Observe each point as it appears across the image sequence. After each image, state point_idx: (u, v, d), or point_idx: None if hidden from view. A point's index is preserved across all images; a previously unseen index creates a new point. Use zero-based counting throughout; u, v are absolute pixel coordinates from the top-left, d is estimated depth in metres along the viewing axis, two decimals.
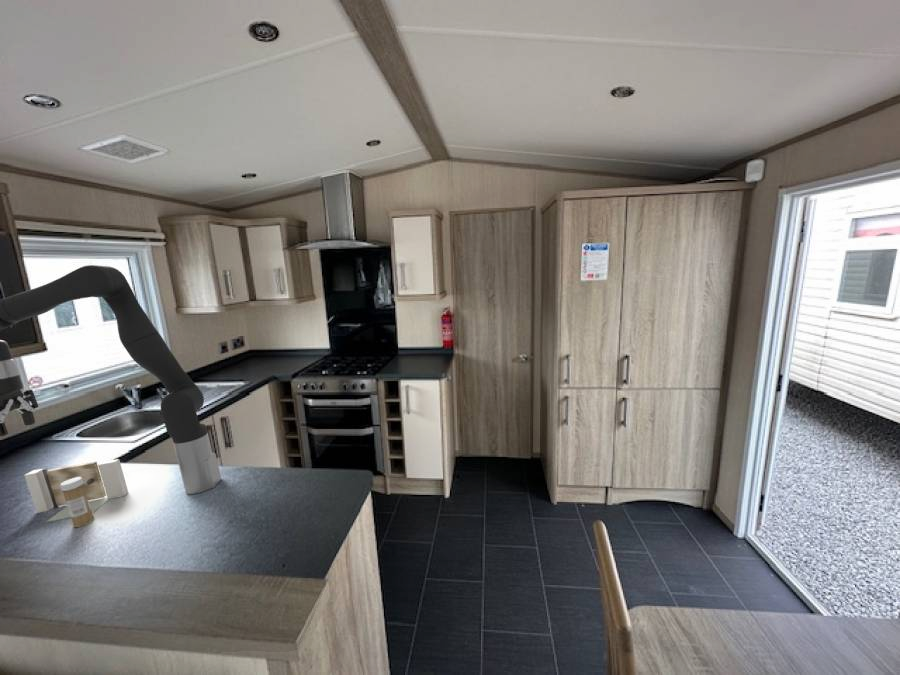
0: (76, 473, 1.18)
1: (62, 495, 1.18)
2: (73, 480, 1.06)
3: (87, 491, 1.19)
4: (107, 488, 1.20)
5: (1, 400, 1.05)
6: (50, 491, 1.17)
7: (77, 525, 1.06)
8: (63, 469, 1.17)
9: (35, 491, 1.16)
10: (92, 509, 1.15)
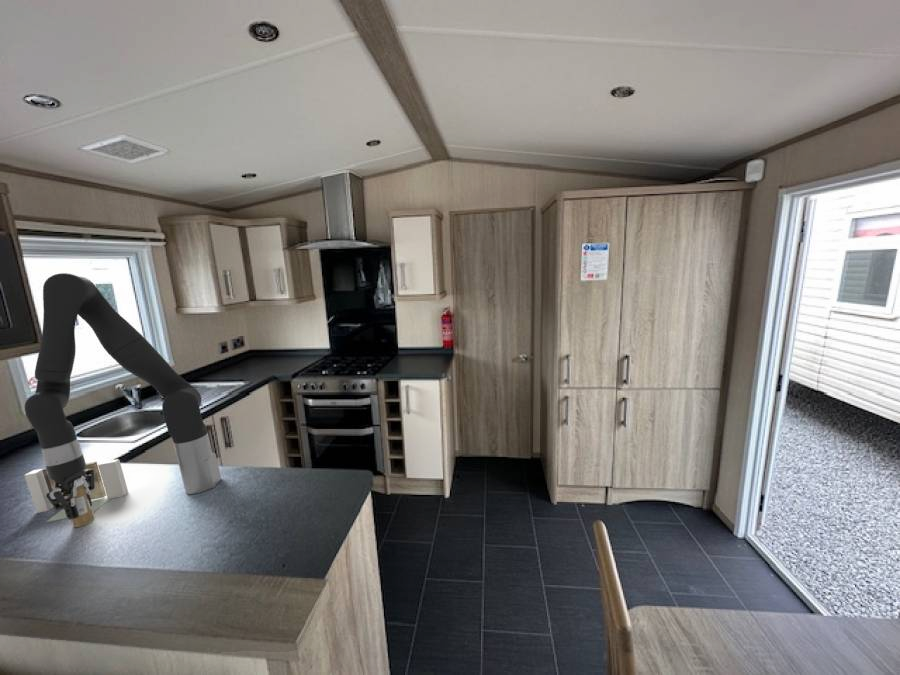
0: None
1: None
2: None
3: None
4: (107, 488, 1.20)
5: (66, 483, 1.03)
6: (50, 491, 1.17)
7: (77, 525, 1.06)
8: None
9: (35, 491, 1.16)
10: (92, 509, 1.15)
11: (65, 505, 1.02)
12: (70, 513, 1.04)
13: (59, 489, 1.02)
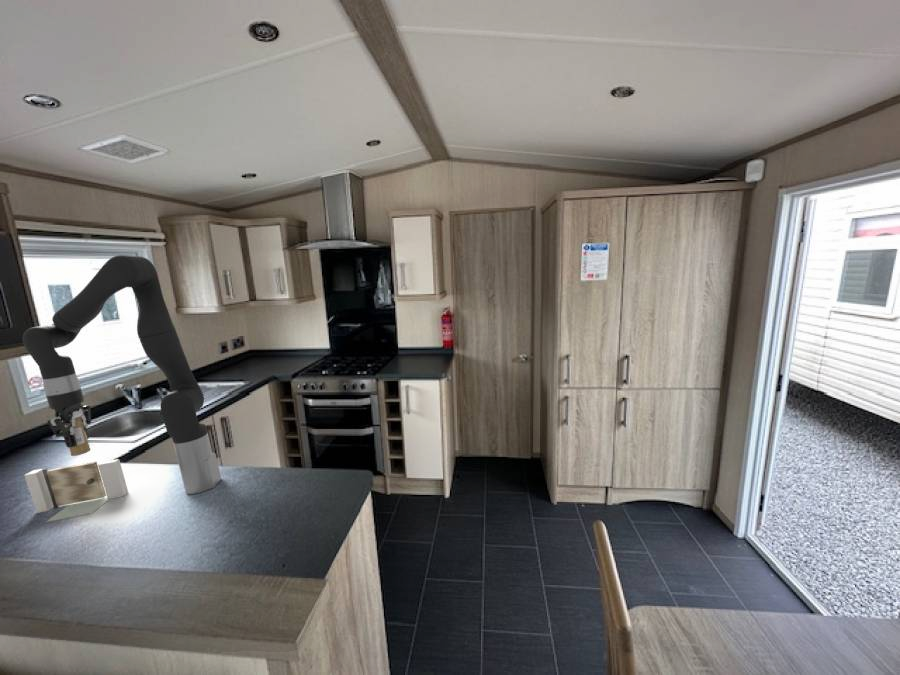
0: (76, 473, 1.18)
1: (62, 495, 1.18)
2: None
3: (87, 491, 1.19)
4: (107, 488, 1.20)
5: (66, 412, 1.11)
6: (50, 491, 1.17)
7: (75, 454, 1.14)
8: (63, 469, 1.17)
9: (35, 491, 1.16)
10: (92, 509, 1.15)
11: (65, 432, 1.10)
12: (69, 441, 1.12)
13: (59, 417, 1.09)
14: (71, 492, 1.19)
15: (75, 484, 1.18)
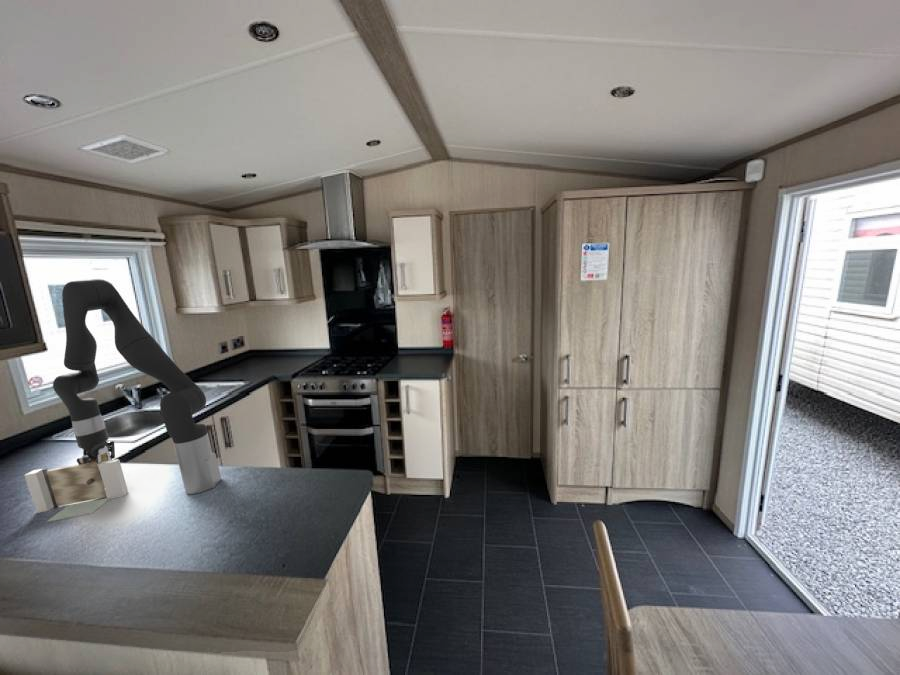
0: (76, 473, 1.18)
1: (62, 495, 1.18)
2: None
3: (87, 491, 1.19)
4: (107, 488, 1.20)
5: (92, 450, 1.22)
6: (50, 491, 1.17)
7: None
8: (63, 469, 1.17)
9: (35, 491, 1.16)
10: (92, 509, 1.15)
11: None
12: None
13: (87, 455, 1.20)
14: (71, 492, 1.19)
15: (75, 484, 1.18)
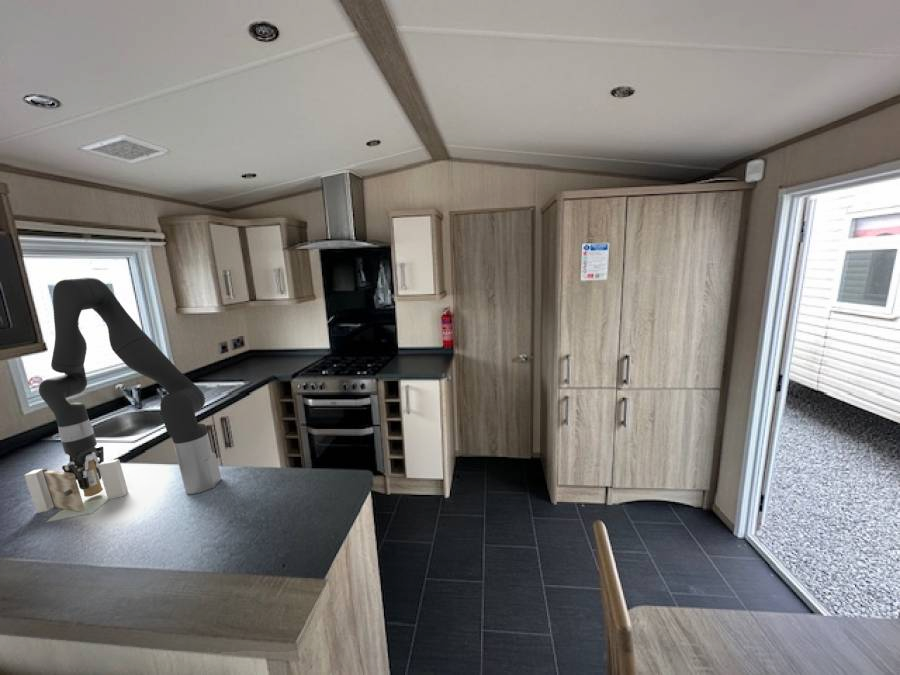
0: (60, 481, 1.14)
1: (56, 498, 1.17)
2: None
3: (69, 501, 1.14)
4: (107, 488, 1.20)
5: (79, 457, 1.17)
6: (49, 491, 1.17)
7: (88, 495, 1.20)
8: (52, 474, 1.15)
9: (35, 491, 1.16)
10: (92, 509, 1.15)
11: (78, 476, 1.16)
12: (82, 484, 1.18)
13: (73, 462, 1.16)
14: (60, 497, 1.16)
15: (61, 491, 1.15)
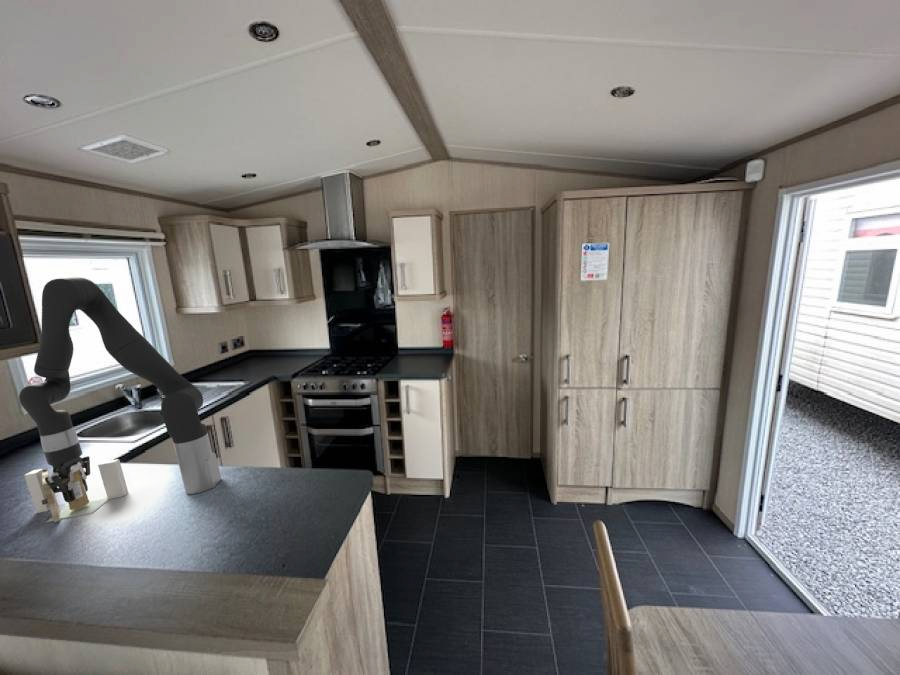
0: None
1: None
2: None
3: None
4: (107, 488, 1.20)
5: (63, 468, 1.11)
6: None
7: (73, 508, 1.13)
8: None
9: (35, 491, 1.16)
10: (92, 509, 1.15)
11: (62, 488, 1.09)
12: (67, 496, 1.11)
13: (57, 474, 1.09)
14: None
15: None
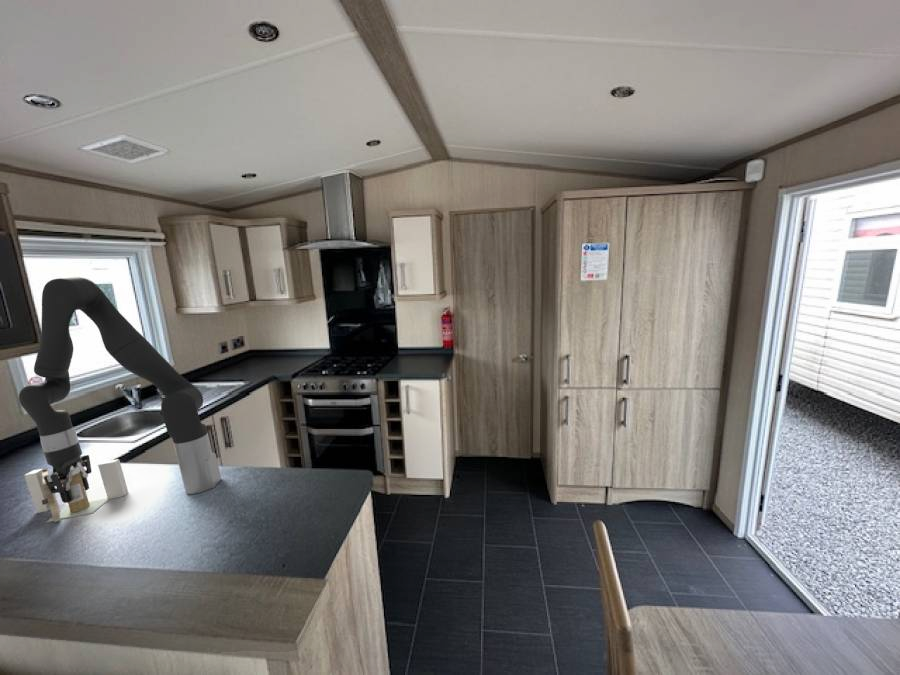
0: None
1: None
2: None
3: None
4: (107, 488, 1.20)
5: (63, 468, 1.11)
6: None
7: (74, 510, 1.13)
8: (42, 477, 1.13)
9: (35, 491, 1.16)
10: (92, 509, 1.15)
11: (60, 489, 1.09)
12: (65, 497, 1.11)
13: (56, 473, 1.09)
14: None
15: None
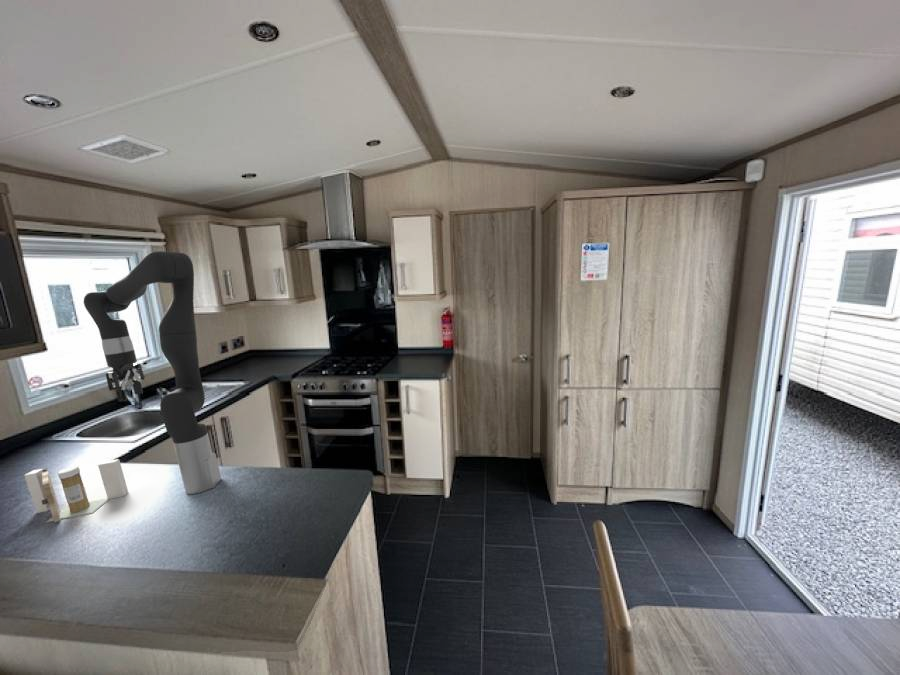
0: None
1: None
2: (70, 469, 1.13)
3: None
4: (107, 488, 1.20)
5: (122, 370, 1.22)
6: None
7: (74, 511, 1.13)
8: None
9: (35, 491, 1.16)
10: (92, 509, 1.15)
11: (117, 387, 1.19)
12: (120, 395, 1.21)
13: None
14: None
15: None
